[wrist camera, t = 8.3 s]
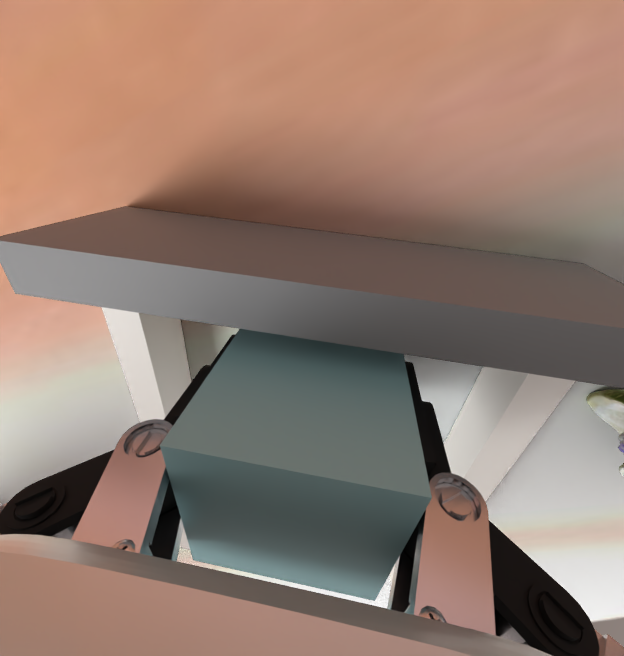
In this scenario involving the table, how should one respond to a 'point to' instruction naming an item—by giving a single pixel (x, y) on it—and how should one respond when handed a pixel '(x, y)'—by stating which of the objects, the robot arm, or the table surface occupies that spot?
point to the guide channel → (337, 310)
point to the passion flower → (610, 412)
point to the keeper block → (300, 463)
